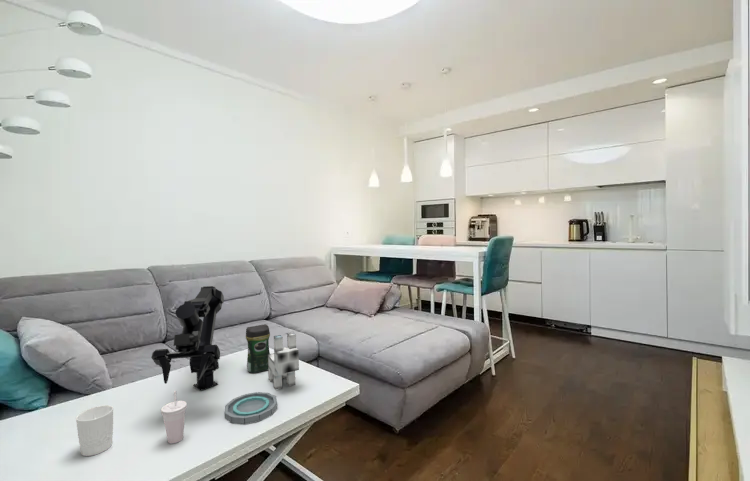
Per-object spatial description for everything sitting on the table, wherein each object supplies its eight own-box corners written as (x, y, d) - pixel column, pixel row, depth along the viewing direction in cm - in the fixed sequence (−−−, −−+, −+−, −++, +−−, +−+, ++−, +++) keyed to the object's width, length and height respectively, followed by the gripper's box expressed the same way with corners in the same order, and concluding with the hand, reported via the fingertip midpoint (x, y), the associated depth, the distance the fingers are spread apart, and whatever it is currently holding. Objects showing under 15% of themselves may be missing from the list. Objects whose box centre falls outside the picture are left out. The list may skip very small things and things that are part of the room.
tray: (215, 412, 113) (215, 406, 113) (259, 393, 125) (259, 387, 125) (241, 430, 103) (241, 423, 103) (286, 407, 115) (286, 401, 115)
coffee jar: (268, 363, 152) (266, 321, 152) (273, 369, 146) (271, 326, 145) (245, 368, 147) (243, 325, 146) (249, 375, 141) (247, 330, 140)
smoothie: (176, 447, 95) (174, 397, 94) (156, 445, 96) (154, 395, 96) (193, 433, 101) (191, 386, 101) (174, 431, 103) (172, 385, 102)
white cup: (92, 440, 99) (90, 406, 99) (121, 438, 100) (119, 404, 99) (70, 459, 91) (68, 421, 91) (102, 456, 92) (100, 419, 91)
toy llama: (285, 372, 142) (284, 324, 141) (299, 390, 127) (298, 336, 126) (267, 377, 139) (265, 327, 138) (279, 395, 124) (277, 340, 123)
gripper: (152, 324, 108) (138, 374, 98) (217, 320, 112) (210, 367, 102) (162, 341, 116) (150, 388, 106) (222, 336, 120) (217, 381, 110)
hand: (182, 381), depth 106 cm, fingers open, 9 cm apart
